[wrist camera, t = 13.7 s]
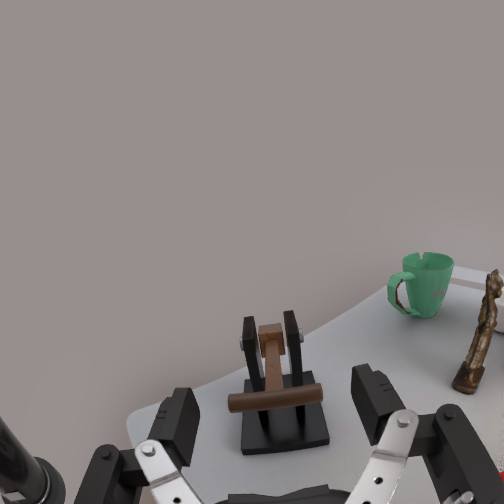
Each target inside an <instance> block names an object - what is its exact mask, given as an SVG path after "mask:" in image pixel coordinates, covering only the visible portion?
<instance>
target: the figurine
mask: <svg viewBox="0 0 504 504" xmlns="http://www.w3.org/2000/svg"><path fill="white" fill-rule="evenodd" d="M503 286H504V283H503V280H502V278H501V277H500V276H499V275H498V270H497V269H496V270H494V271H493V272H492V273H491V278H490V274H487V278H486V295H485V296H484V297H483V299H482V305H481V309H480V313H479V316H478V322H479V325H478V327H477V328H476V331H475V336H474V338H473V342H472V344H471V347H470V348H471V349H470V350H469V354H468V355H467V357H466V361H464V362H463V364H462V365H461V368H460V369H459V371H458V373H457V375H456V377H455V379H454V380H453V382H452V385H453V387H454V388H455V389H457V390H459V391H460V392H462V393H465V394H473V393H475V392H476V389H477V387H478V384H479V382H480V380H481V377H482V375H483V372H484V369H485V368H484V367H483V366H482V365H483V362H484V358H485V356H486V354H487V351H488V348H489V345H490V341H491V337H492V335H493V332H494V328H495V327H496V326H497V321H496V318H497V313H498V309H497V306H496V303H495V299H496V298H500V297H501V295H502V290H501V289H502V287H503Z"/></svg>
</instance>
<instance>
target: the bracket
mask: <svg viewBox="0 0 504 504" xmlns="http://www.w3.org/2000/svg"><path fill="white" fill-rule="evenodd" d="M283 313H284V322H285V330H286V338H287V347H288V356H289V365H290V374H287V375H282V379H283V387H284V389H285V388H292V387H299V386H305V385H310V384H315V380H314V377H313V373H312V371H306V372H303V371H302V359H301V347H300V343H302V342H304V337H303V331H302V329H301V328H300V329H298V326H297V322H296V319H295V315H294V312H293V310H291V311H284V312H283ZM240 347H241V350H242V351H244V352H245V357H246V361H247V366H248V371H249V375H250V379H246V380H245V383H244V393H252V392H262V391H265V377H264V372H263V366H262V361H261V355H260V350H259V344H258V339H257V333H256V327H255V321H254V317H253V316H249V317H244V322H243V334H242V337H240ZM329 442H330V437H329V433H328V429H327V425H326V422H325V418H324V414H323V410H322V406H321V403H320V402H317V403H311V404H306V405H300V406H293V407H286V408H279V409H271V410H261V411H251V412H243V419H242V438H241V451H242V454H243V455H257V454H269V453H278V452H287V451H294V450H301V449H307V448H313V447H318V446H324V445H329Z"/></svg>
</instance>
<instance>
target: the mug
mask: <svg viewBox="0 0 504 504" xmlns="http://www.w3.org/2000/svg"><path fill="white" fill-rule="evenodd" d="M453 266H454V261H453V259H452V258H450V257H449V256H447V255H444V254H440V253H432V252H425V253H424V255H423V259H422V260H420V256H419V253H414V254H410V255H408V256H406V257H404V258H403V271H404V272H401V273H397V274H395V275H392V276H391V278H390V280H389V282H388V284H387V289H388V301H389V302H390V304H392V305H393V306H394V307H395V308H396V309H397V310H398V311H399V312H400V313H402V314H404V315H415V316H417V317H420V318H431V317H433V316H434V315H435V314H436V313H437V311H438V309H439V307H440V305H441V303H442V301H443V298H444V296H445V293H446V291H447V288H448V285H449V281H450V278H451V274H452V270H453ZM404 281H405V283H406V289H407V294H408V298H409V302H410V305H411V308H404V307H403V306H402V304H401V303H400V301H399V300H398V295H397V288H398V287H399V285H400V283H402V282H404Z"/></svg>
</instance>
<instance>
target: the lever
mask: <svg viewBox="0 0 504 504" xmlns="http://www.w3.org/2000/svg"><path fill="white" fill-rule="evenodd" d="M258 336H259V342H260V349H261V355H262V358H264V357H265V391H262V392H252V393H241V394H230V395H228V408H229V411H230V412H231V413H238V412H251V411H261V410H271V409H279V408H286V407H293V406H300V405H306V404H311V403H317V402H322V401H323V391H322V387H321V384H320V383H316V384H310V385H305V386H299V387H292V388H285V389H284V387H283V379H282V371H281V363H280V355H285V347H284V339H283V332H282V327H281V323H277V324H270V325H263V326H259V334H258Z"/></svg>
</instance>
